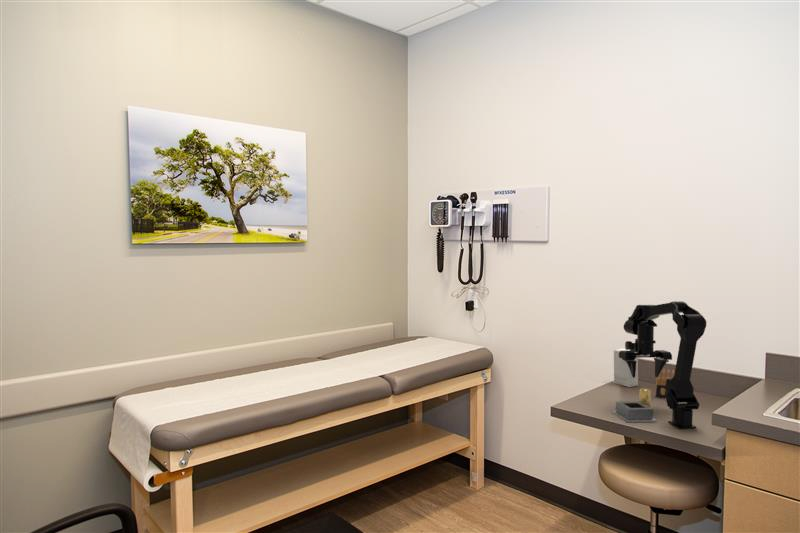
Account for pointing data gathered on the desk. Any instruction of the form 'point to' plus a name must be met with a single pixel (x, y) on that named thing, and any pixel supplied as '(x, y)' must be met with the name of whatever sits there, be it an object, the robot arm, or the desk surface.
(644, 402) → the bushing
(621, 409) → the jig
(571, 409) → the desk surface
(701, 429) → the desk surface
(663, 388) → the ammunition clip
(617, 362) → the skincare box
